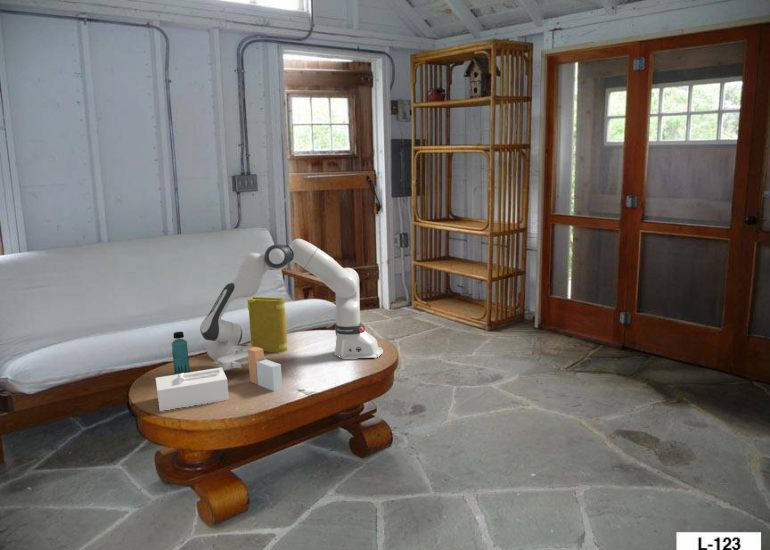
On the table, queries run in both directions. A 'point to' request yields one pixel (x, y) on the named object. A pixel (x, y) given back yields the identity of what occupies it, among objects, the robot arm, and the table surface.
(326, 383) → the table surface
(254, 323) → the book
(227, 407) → the table surface
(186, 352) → the beverage bottle
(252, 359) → the block
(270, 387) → the pale gray chunky brick
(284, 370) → the table surface
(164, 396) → the tissue box
